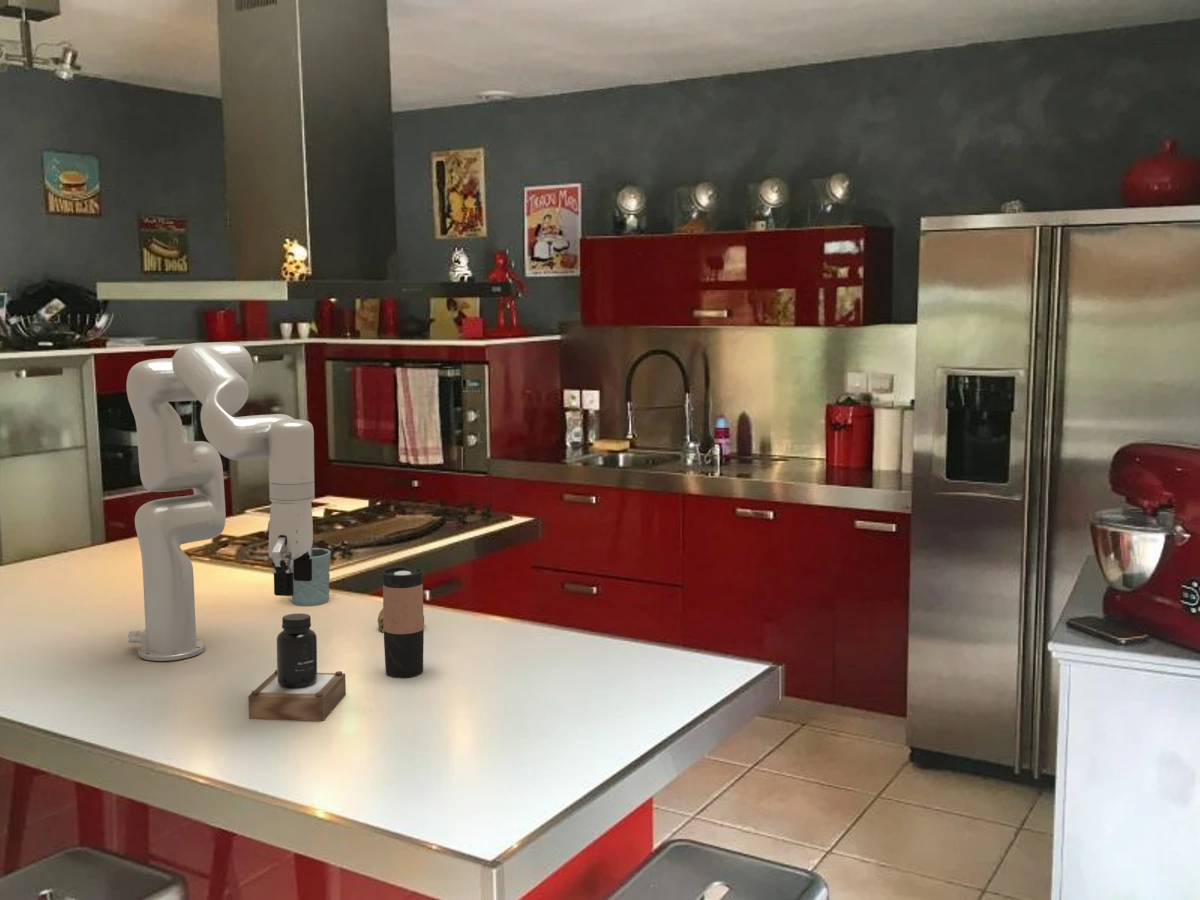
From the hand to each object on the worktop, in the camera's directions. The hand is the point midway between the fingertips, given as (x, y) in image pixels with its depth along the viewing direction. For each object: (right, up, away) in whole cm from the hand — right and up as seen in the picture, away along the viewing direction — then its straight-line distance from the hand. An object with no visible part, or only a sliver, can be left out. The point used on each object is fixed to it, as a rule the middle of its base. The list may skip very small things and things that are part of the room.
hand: (293, 587), depth 198 cm
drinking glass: (-16, -12, +72) cm, 75 cm away
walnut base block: (0, -21, +2) cm, 21 cm away
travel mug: (+16, -19, +21) cm, 33 cm away
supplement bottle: (0, -17, +2) cm, 17 cm away
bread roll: (+10, -15, +51) cm, 54 cm away
